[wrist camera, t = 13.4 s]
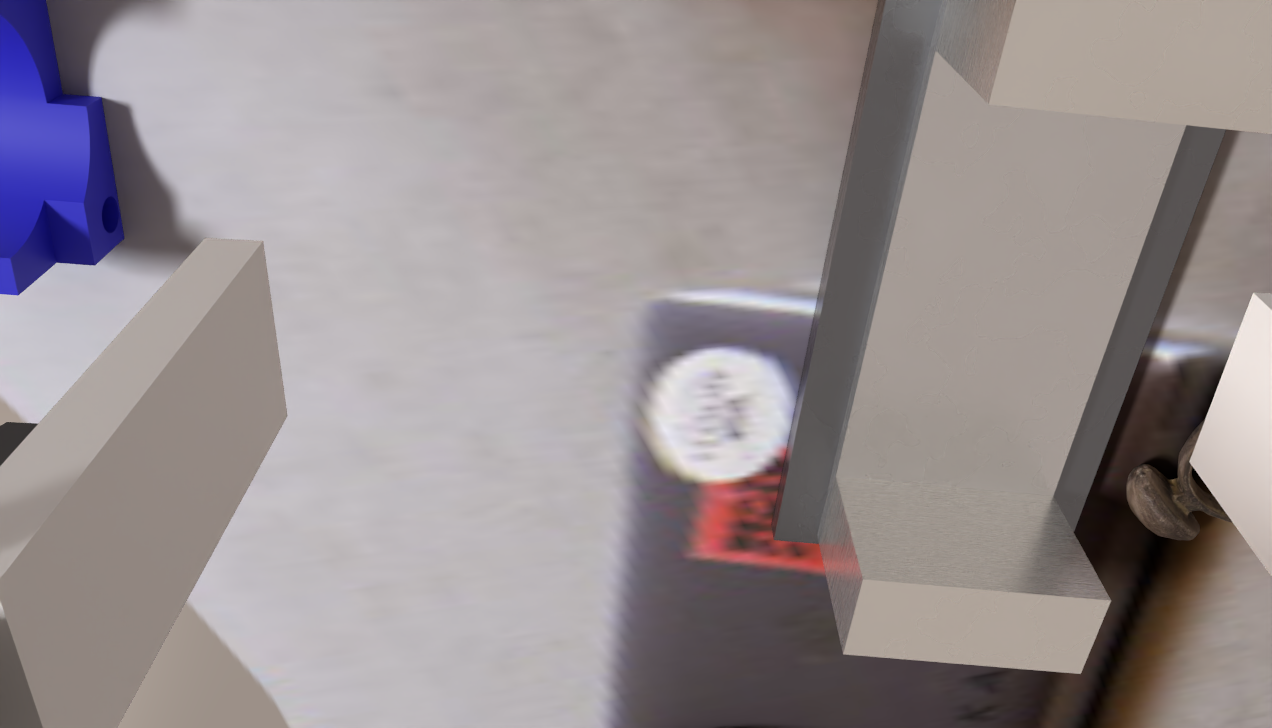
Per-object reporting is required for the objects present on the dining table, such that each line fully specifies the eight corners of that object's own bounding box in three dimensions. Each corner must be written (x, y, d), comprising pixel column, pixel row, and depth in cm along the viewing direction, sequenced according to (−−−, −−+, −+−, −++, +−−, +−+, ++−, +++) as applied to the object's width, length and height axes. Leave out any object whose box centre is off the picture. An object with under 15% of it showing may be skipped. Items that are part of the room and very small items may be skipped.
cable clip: (126, 236, 46) (58, 298, 40) (18, 227, 46) (-63, 289, 40) (77, -66, 40) (-9, -39, 35) (-47, -77, 40) (-153, -51, 34)
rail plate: (897, -95, 39) (961, -57, 31) (1275, -53, 39) (1432, -6, 32) (771, 524, 52) (793, 659, 45) (1053, 548, 53) (1123, 686, 45)
